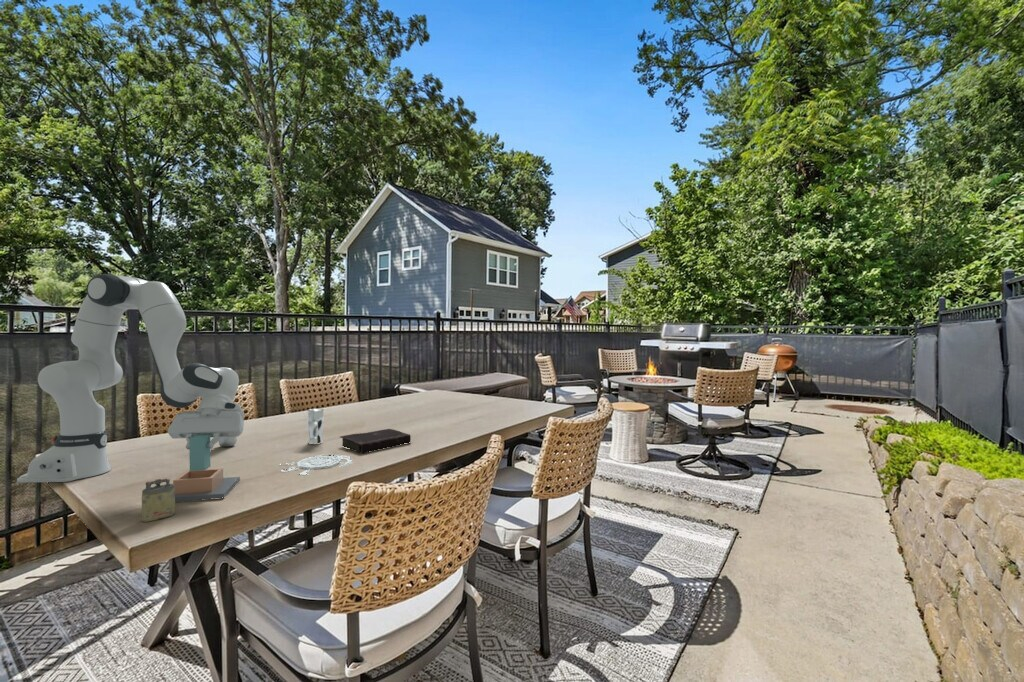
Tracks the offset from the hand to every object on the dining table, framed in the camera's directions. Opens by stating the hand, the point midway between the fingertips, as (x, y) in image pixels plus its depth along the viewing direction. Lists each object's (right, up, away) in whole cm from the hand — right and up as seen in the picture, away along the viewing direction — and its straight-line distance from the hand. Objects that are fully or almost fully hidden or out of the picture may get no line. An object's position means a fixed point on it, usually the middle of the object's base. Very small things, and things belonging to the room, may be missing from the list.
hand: (199, 448), depth 136 cm
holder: (-1, -14, +1) cm, 14 cm away
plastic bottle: (-26, -13, +55) cm, 62 cm away
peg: (0, -7, +1) cm, 7 cm away
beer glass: (+8, -13, +63) cm, 65 cm away
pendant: (+23, -15, +33) cm, 43 cm away
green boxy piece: (+2, -14, -18) cm, 23 cm away
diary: (+35, -14, +62) cm, 73 cm away
